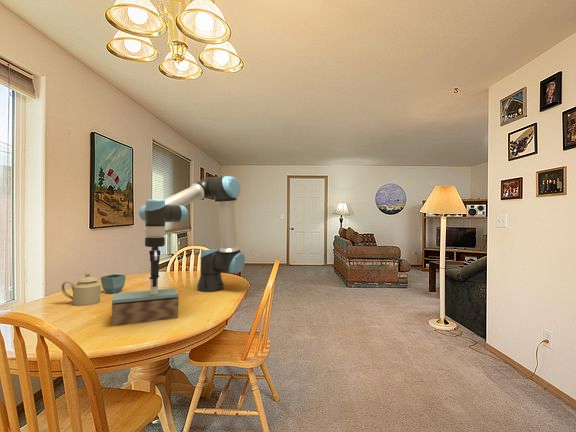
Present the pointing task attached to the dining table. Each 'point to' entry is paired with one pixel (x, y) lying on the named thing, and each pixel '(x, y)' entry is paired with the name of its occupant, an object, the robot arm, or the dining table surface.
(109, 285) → the flower pot
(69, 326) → the dining table surface
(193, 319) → the dining table surface
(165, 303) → the walnut box
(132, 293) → the lid
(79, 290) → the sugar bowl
